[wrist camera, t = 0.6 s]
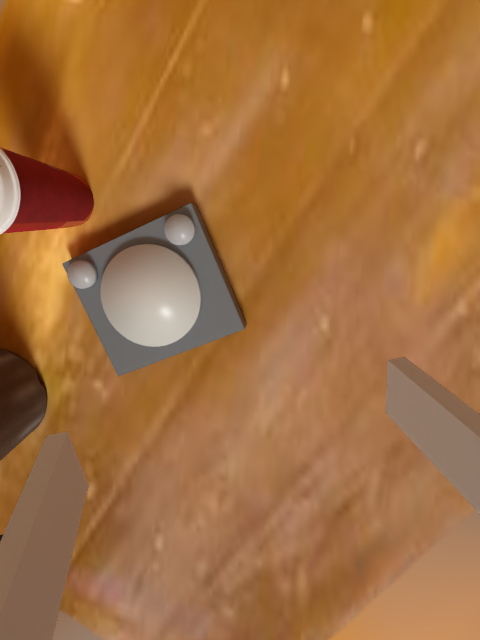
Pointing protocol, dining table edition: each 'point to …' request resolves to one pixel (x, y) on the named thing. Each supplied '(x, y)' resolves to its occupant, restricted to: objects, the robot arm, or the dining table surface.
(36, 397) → the plant pot
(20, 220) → the paper cup
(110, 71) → the dining table surface
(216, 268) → the grey flat block
